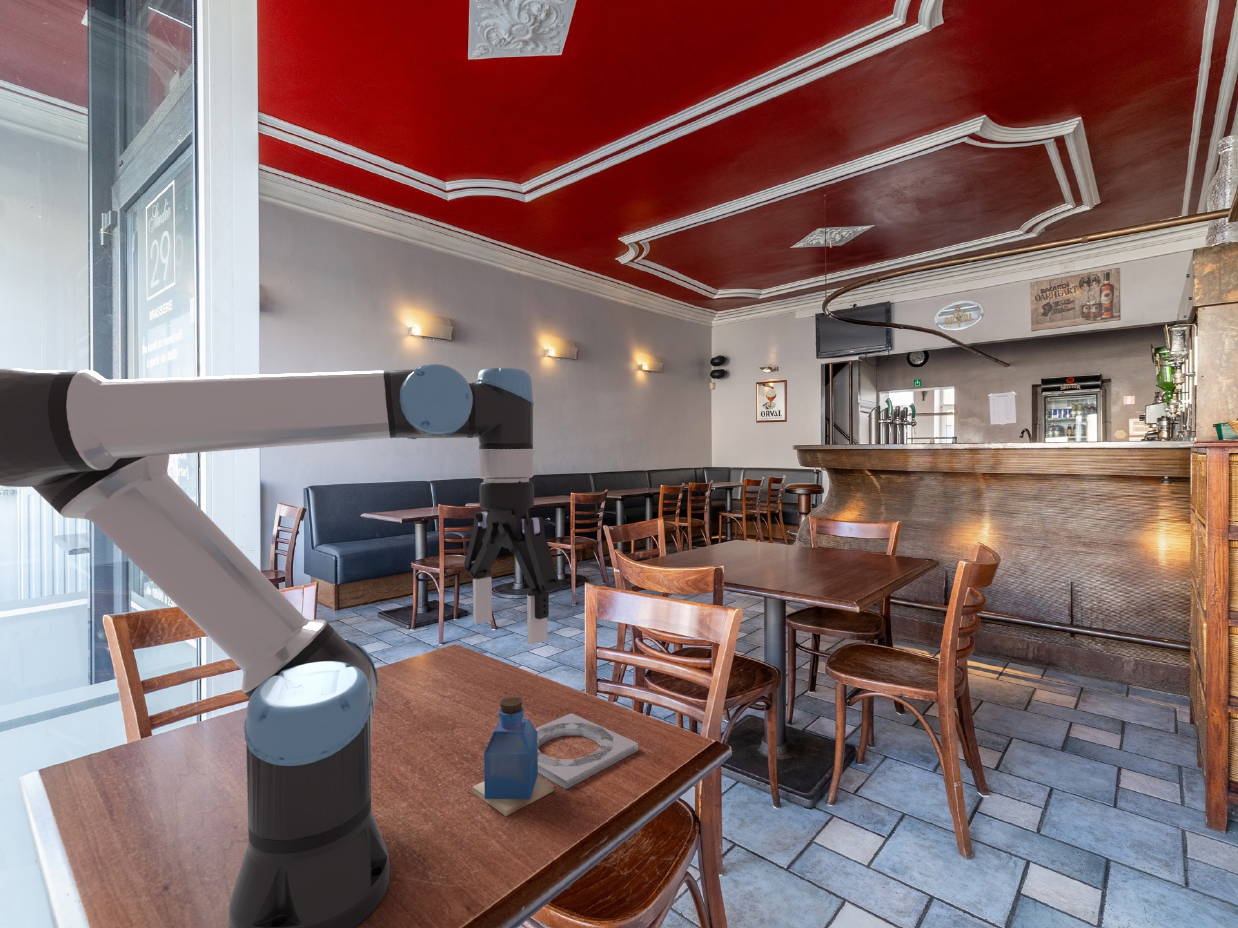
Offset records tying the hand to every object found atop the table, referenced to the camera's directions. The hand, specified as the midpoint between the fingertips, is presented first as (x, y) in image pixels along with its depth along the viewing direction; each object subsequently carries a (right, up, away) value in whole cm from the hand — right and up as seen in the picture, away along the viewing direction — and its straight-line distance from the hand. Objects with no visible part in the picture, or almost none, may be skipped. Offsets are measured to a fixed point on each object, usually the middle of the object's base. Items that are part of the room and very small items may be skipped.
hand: (508, 631), depth 84 cm
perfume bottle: (+1, -22, 0) cm, 22 cm away
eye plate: (+8, -22, +11) cm, 26 cm away
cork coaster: (+1, -22, 0) cm, 22 cm away
